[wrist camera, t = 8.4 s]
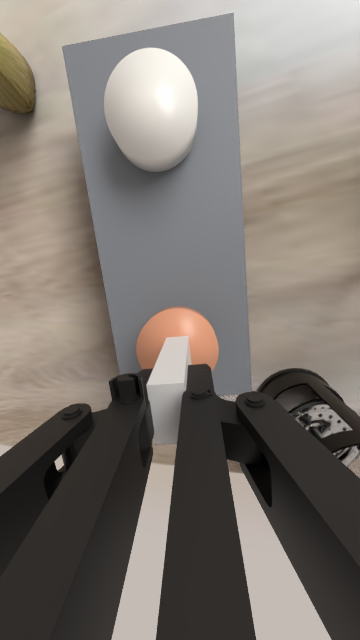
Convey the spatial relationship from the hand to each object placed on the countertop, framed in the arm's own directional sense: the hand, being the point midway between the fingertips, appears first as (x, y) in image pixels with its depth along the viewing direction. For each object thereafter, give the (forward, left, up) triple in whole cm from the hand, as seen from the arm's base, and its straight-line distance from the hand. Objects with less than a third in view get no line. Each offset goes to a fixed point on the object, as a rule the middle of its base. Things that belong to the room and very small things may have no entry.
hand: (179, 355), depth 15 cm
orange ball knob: (0, 0, -10) cm, 10 cm away
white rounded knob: (0, -16, -11) cm, 19 cm away
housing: (0, -8, -12) cm, 14 cm away
